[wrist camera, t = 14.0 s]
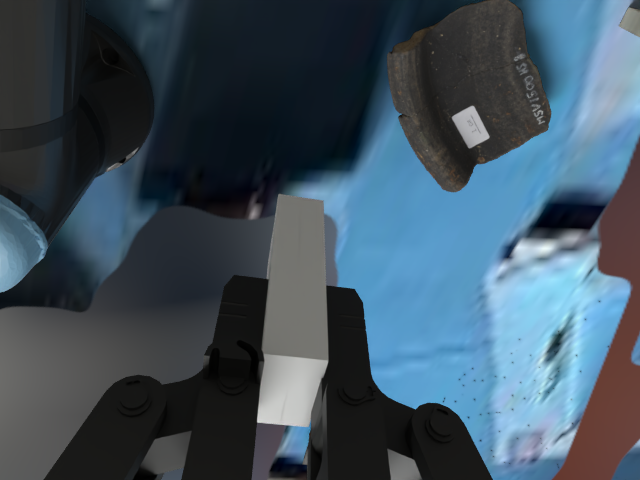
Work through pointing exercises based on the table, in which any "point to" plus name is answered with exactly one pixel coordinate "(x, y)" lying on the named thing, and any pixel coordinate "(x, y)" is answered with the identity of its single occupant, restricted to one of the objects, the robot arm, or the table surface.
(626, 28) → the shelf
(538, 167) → the table surface
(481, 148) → the pottery fragment
